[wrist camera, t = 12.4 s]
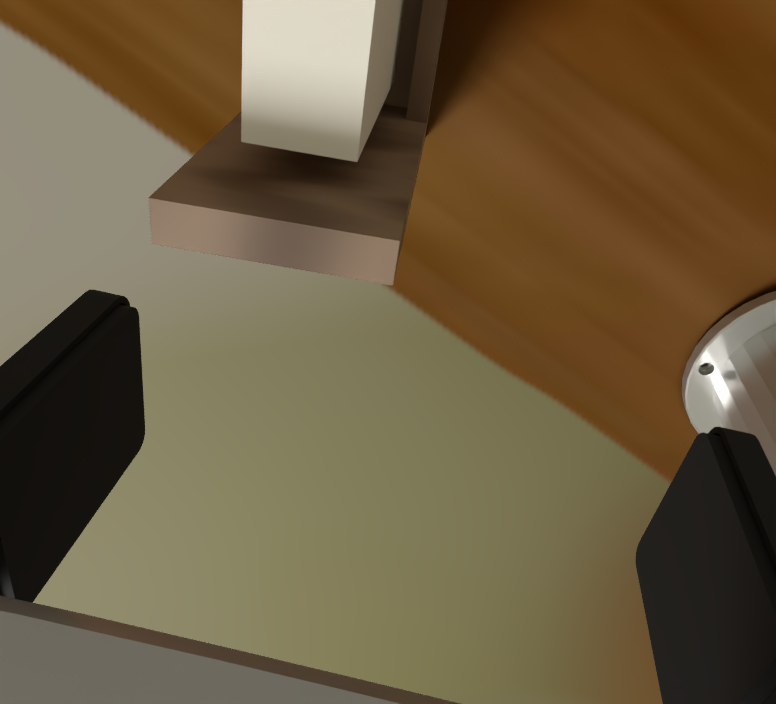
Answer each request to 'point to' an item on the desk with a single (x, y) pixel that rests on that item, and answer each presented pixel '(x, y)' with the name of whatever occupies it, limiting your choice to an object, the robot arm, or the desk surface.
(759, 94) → the desk surface
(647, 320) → the desk surface
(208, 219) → the door frame
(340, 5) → the door panel
